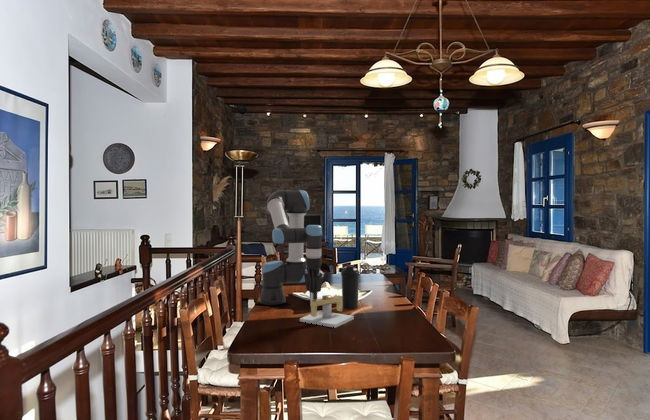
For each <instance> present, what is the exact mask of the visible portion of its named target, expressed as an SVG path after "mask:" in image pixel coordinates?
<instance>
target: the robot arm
mask: <svg viewBox="0 0 650 420" xmlns="http://www.w3.org/2000/svg"><path fill="white" fill-rule="evenodd" d="M266 208H267V211H268V212H269V213H270V216H271V220H272V224H273V229H272V233H271V237H272V243H273V244H280V245H283V244H288V258H286V259H285V263H284V262H283V261H282V260H272V261H267V262H265V263H263V265H262V268H261V269H262V271H261V273H262V277H261V279H262V281H261V282H262V284H261V287H262V289H261V292H260V296H259V298H258V300H259V304H261V305H267V306H276V305H281V304H284V303H286V301H287V300H286V296H285V291H284V288H283V287H284V285H283V284H301V283H304V284H305V290H306V291H308V292H309V299H310V307H311V300H317V299H318V293H319V292H321V290H322V286H323V282H324V277H325V273H326V272H323V271H322V269H321V266H322V262H323V261H322V260H323V259H322V238H323V237H322V236H323V230H322V229H323V228H322V226H321V224H320V225H319V224H308V225H306V227H305V226H304V225H305V223H304V222H305V216H306V214H307V211H309V210H310V197H309V194H308V192H307V191H306V190H302V189H292V190H291V189H281V190H279V189H278V190H276V191H274V192H273V193H271V194H270V195H269V197H268V198H267V201H266ZM285 211H286V212H285ZM287 215H288V218H287ZM304 244H305V256H306V257H304Z"/></svg>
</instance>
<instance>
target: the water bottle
mask: <svg viewBox="0 0 650 420" xmlns="http://www.w3.org/2000/svg"><path fill="white" fill-rule="evenodd" d="M340 276H341V296H342V309H345V310H357V309H358V308H359V286H360V285H359V284H360V283H359V282H360V281H359V280H360V271H359V269H358V268H356V267H355V264H346V267H344V268H343V269H342V270H341V271H340Z"/></svg>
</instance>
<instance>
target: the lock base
mask: <svg viewBox="0 0 650 420" xmlns="http://www.w3.org/2000/svg"><path fill="white" fill-rule="evenodd" d="M332 304H333V303H330V304H325V305H322V310H317V317H313V316H311V313H309V314H307V315H305V316H303V317H300V318H299V322H301V323H305V322H306V324H311V323H312V325H316V324H317V326H322V325H323V326H324V327H329V328H333V327H334V329H336V328H338V327H341V326H342V325H344V324H346V323H348V322H351V321H352V320H354V319H355V317H354V315H350V314H344V313H336V312H332V310H333V309H332ZM323 326H322V327H323Z"/></svg>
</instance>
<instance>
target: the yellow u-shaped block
mask: <svg viewBox="0 0 650 420" xmlns="http://www.w3.org/2000/svg"><path fill="white" fill-rule="evenodd" d="M330 303H331V304H334V303H336V311H338V312H343V307H342V295H340V294H339V295H334V296H332V295H328V294H326V295H321V298H317V299H316V300H311V306H310V314H311V316H313V317H317V312H318V307H319V306H323V305H325V304H330Z"/></svg>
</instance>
